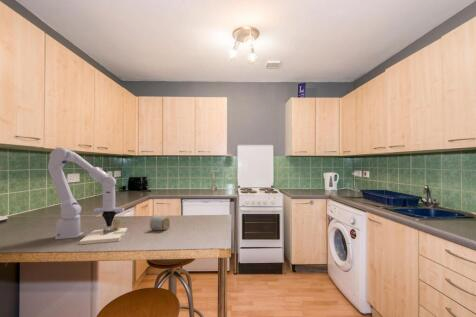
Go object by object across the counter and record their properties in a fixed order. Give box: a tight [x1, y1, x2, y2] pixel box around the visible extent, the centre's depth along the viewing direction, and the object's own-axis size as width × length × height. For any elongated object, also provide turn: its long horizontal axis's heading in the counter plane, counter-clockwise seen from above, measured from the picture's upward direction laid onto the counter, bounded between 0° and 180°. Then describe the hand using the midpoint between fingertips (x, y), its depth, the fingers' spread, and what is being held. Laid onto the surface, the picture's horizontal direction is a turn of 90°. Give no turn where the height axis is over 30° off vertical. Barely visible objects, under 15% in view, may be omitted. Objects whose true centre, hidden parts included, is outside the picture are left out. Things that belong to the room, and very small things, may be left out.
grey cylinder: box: [149, 214, 171, 231], centre depth 128 cm, size 11×8×8 cm
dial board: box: [79, 227, 128, 245], centre depth 115 cm, size 16×18×2 cm
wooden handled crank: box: [102, 218, 121, 234], centre depth 118 cm, size 9×2×5 cm, turn 164°
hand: (109, 226), depth 122 cm, fingers closed
